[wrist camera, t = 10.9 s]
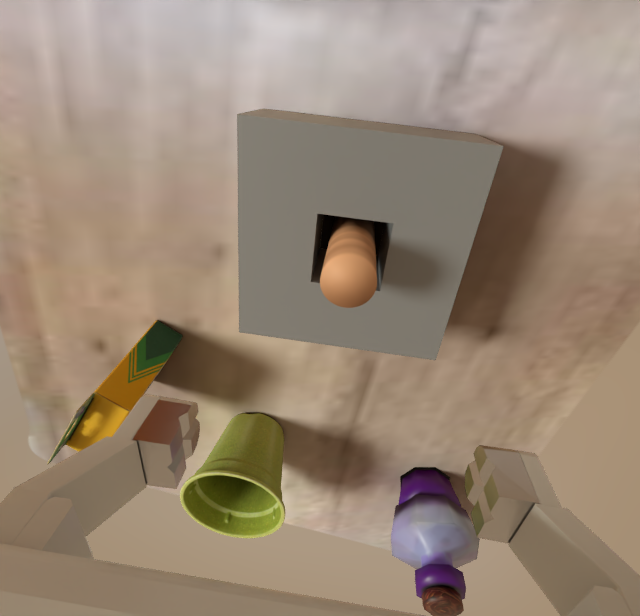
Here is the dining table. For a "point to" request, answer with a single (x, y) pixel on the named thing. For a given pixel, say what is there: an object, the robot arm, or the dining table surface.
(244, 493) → the plant pot
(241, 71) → the dining table surface
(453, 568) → the potion bottle
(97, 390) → the crayon box
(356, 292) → the peg
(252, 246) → the hole block
